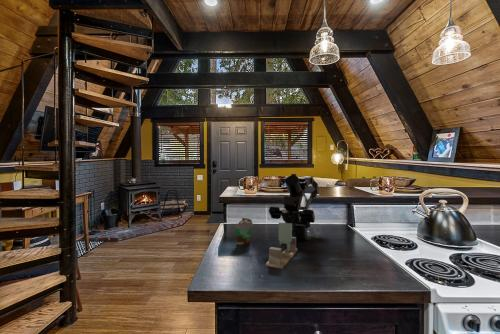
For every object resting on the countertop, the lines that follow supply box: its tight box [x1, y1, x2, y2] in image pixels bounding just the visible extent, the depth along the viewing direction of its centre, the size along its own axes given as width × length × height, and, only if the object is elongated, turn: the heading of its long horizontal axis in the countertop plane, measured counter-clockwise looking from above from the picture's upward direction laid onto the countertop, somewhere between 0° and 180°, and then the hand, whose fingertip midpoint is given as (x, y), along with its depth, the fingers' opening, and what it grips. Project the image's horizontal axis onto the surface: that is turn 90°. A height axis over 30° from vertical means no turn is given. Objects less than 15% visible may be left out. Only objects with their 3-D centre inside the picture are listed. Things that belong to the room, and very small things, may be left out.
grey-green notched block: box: [278, 221, 292, 251], centre depth 106 cm, size 3×5×10 cm, turn 65°
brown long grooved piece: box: [265, 237, 298, 270], centre depth 104 cm, size 20×6×6 cm, turn 155°
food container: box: [235, 217, 254, 247], centre depth 121 cm, size 12×6×10 cm, turn 168°
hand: (287, 231), depth 109 cm, fingers closed
